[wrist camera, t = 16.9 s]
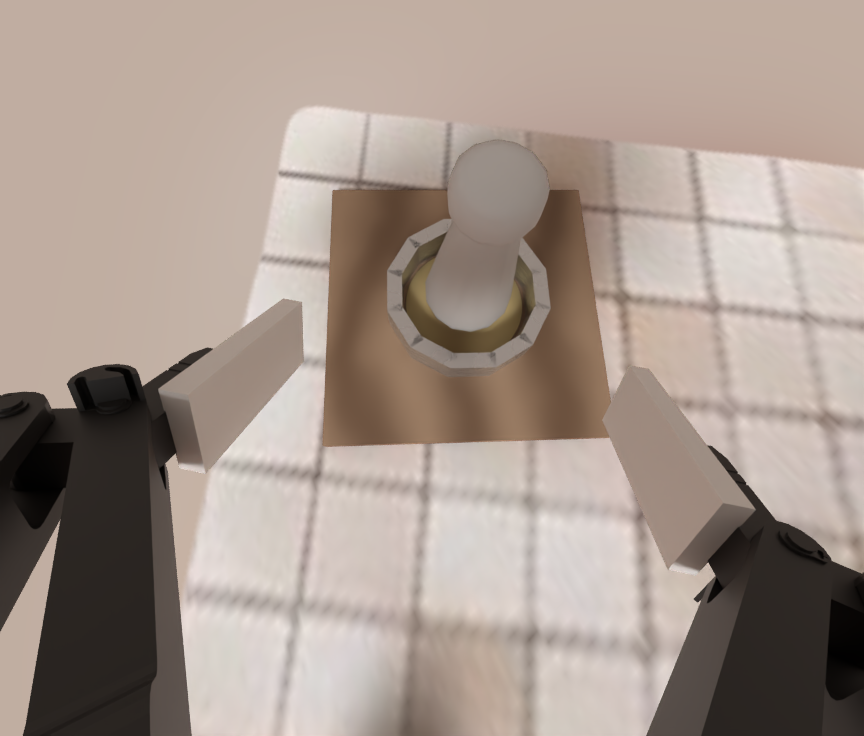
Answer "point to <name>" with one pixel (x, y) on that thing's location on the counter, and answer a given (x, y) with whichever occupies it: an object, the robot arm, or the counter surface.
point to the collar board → (457, 332)
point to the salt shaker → (485, 232)
